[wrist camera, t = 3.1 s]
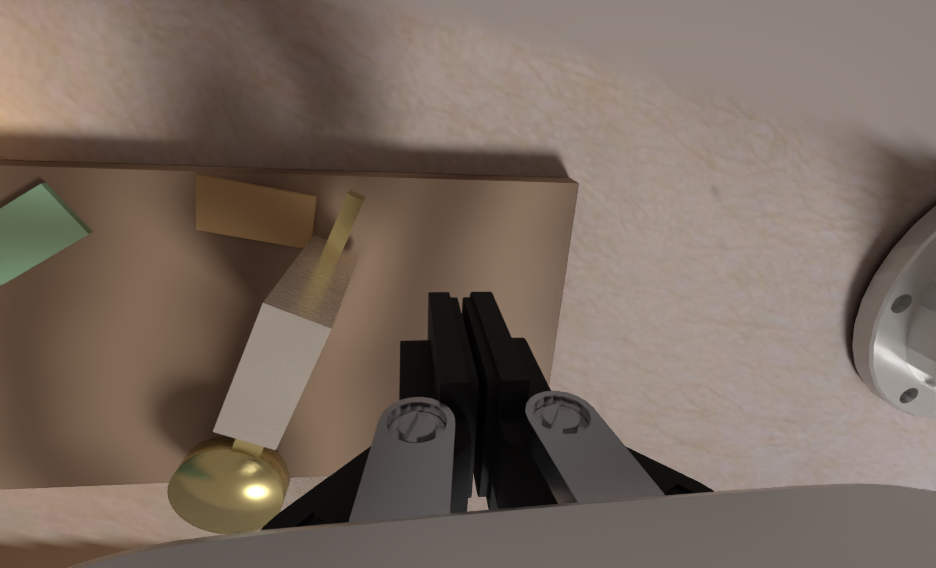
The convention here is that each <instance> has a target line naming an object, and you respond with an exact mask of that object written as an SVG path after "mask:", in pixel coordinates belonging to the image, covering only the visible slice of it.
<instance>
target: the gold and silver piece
mask: <svg viewBox="0 0 936 568" xmlns="http://www.w3.org/2000/svg"><path fill="white" fill-rule="evenodd" d="M365 198H366V197H365V196H363V195H361V194H359V193H357V192H355V191H353V190H350V191H349V192H348V193H347V195H346V198H345V200H344V203H343V205H342V207H341V210H340V212H339V214H338V217H337V219H336V222H335V224H334V226H333V229H332V231H331V233H330V236H329V238H328V240H325V239H322V238H320V237H318V236H315V235H313V236H312V238H311V239H310V240H309V242H308V243H307V244H306V246H305V247H304V248H303V250H302V251H301V252H300V254H299V255H298V256H297V258H296V259H295V261H294V262H293V263H292V265H291V266H290V267H289V269H288V270H287V271H286V273H285V274H284V275H283V277H282V278H281V279H280V281H279V282H278V283H277V285H276V286H275V287H274V289H273V290H272V291H271V293H270V294H269V295H268V297H267V298H266V299H265V301H264V302H263V304H262V306H261V309H260V311H259V314H258V316H257V319H256V322H255V324H254V327H253V329H252V332H251V334H250V337H249V340H248V342H247V345H246V347H245V350H244V353H243V355H242V358H241V360H240V363H239V365H238V368H237V371H236V373H235V376H234V378H233V381H232V383H231V386H230V389H229V391H228V394H227V396H226V399H225V401H224V404H223V407H222V409H221V412H220V414H219V417H218V420H217V422H216V425H215V427H214V430H213V432H215V433H218V434H222V435H225V436H220V437H215V438H211V439H208V440H205V441H203V442H201V443H199V444H197V445H196V446H194V447H193V448H192V449H191V450H190V451H189V452H188V453H187V455H186V456H185V457H184V459H183V460H182V462H181V464H180V465H179V467H178V468H177V470H176V471H175V473H174V474H173V476H172V477H171V480H170V482H169V485H168V498H169V501H170V504H171V506H172V507H173V509H174V510H175V512H176V513H177V514H178V515H179V516H180V517H181V518H183V519H184V520H185V521H186V522H188V523H190V524H191V525H193V526H195V527H197V528H200V529H203V530H206V531H209V532H213V533H219V534H234V533H238V532H241V533H242V532H250V531H255V530H258V529H260V528H262V527H264V526H265V525H266V524H267V523H268V522H269V521H270V520H271V519H272V518H273V517H274V516H276V515H277V514H278V513H279V512H280V510H281V507H282V504H283V501H284V498H285V495H286V492H287V489H288V486H289V482H290V472H289V469H288V466H287V464H286V462H285V460H284V459H283V458H282V457H281V455H280V454H279V453H278V452H276V451H275V450H276V449H277V447H278V445H279V442H280V440H281V438H282V436H283V434H284V432H285V429H286V427H287V425H288V423H289V421H290V419H291V416H292V414H293V412H294V410H295V408H296V405H297V403H298V401H299V399H300V397H301V395H302V392H303V390H304V388H305V386H306V384H307V382H308V379H309V377H310V375H311V373H312V371H313V368H314V366H315V364H316V362H317V360H318V358H319V355H320V353H321V351H322V349H323V347H324V345H325V342H326V340H327V338H328V336H329V334H330V331H331V329H332V327H333V324H334V321H335V319H336V316H337V313H338V311H339V308H340V306H341V303H342V300H343V298H344V295H345V292H346V290H347V287H348V284H349V282H350V279H351V276H352V274H353V271H354V268H355V266H356V263H357V260H358V258H359V254H357V253H355V252H352V251H350V250H348V249H345V248H344V246H345V244H346V242H347V239H348V237H349V235H350V232H351V230H352V228H353V226H354V223H355V221H356V219H357V216H358V214H359V212H360V210H361V207H362V205H363V203H364V200H365Z"/></svg>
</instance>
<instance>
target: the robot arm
mask: <svg viewBox="0 0 936 568" xmlns="http://www.w3.org/2000/svg"><path fill="white" fill-rule="evenodd" d="M852 348H853V355H854V362H855V367H856V369H857V371H858V373H859V375H860V377H861V380H862V381H863V383H864V384H865V385H866V386H867V387H868V388H869V389H870V390H871V391H872V392H873V393H874V394H875V395H877V396H878V397H879V398H881V399H882V400H884V401H885V402H887V403H888V404H890V405H891V406H893V407H894V408H896V409H898V410H900V411H903V412H905V413H908V414H910V415H912V416H918V417H925V418H931V419H936V205H935V206H934V207H933V208H932V209H931V210H930V211H929V212H928V213H926V214H925V215H924V216H923V217H922V218H921V219H920V220H919V221H917V222H916V223H915V224H914V225H913V226H912V227H911V228H910V229H909V231H908V232H907V233H906V234H905V235H904V236H903V237H902V238H901V240H900V241H899V242H898V243H897V244H896V245H895V246H894V247H893V249H892V250H891V251H890V253H889V254H888V255H887V257H886V258H885V260H884V261H883V263H882V264H881V266H880V267H879V269H878V270H877V272H876V273H875V274H874V276H873V278H872V280H871V282H870V284H869V286H868V288H867V290H866V292H865V294H864V296H863V298H862V301H861V304H860V307H859V311H858V314H857V317H856V320H855V324H854V334H853V344H852ZM473 473H474V479H475V484H476V490H477V495H478V497H485V496H486V498H487V503H488V508H489V510H482V511H470V512H466V511H467V504H468V498H471V496H472V483H473ZM68 568H936V491H931V490H926V489H919V488H911V487H903V486H895V485H881V484H857V483H856V484H831V485H806V486H786V487H774V488H760V489H745V490H731V491H718V492H714V491H713V490H712V489H710V488H708V487H707V486H705V485H703V484H701V483H700V482H698V481H696V480H694V479H692V478H689V477H687V476H685V475H683V474H681V473H679V472H677V471H675V470H673V469H671V468H669V467H667V466H665V465H663V464H661V463H658V462H656V461H654V460H652V459H650V458H648V457H646V456H644V455H642V454H640V453H638V452H636V451H634V450H632V449H630V448H628V447H625V446H624V444H623V443H622V442H621V441H620V439H619V438H618V437H617V436H616V435H615V433H614V432H613V431H612V430H611V429H610V427H609V426H608V425H607V424H606V422H605V421H604V420H603V419H602V418H601V416H600V415H599V414H598V413H597V411H596V410H595V409H594V408H593V407H592V406H591V405H590V404H589V403H588V402H587V401H585V400H583V399H581V398H580V397H578V396H576V395H573V394H570V393H567V392H560V391H551V390H550V388H549V386H548V384H547V381H546V379H545V377H544V375H543V373H542V371H541V369H540V367H539V365H538V363H537V361H536V359H535V357H534V355H533V353H532V351H531V349H530V347H529V345H528V343H527V341H526V339H525V338H523V337H521V338H512V337H511V335H510V332H509V330H508V328H507V325H506V323H505V321H504V319H503V316H502V314H501V312H500V309H499V307H498V305H497V302H496V300H495V298H494V296H493V293H492V292H471V293H470V297H463V301H462V313H461V309H460V306H459V302H458V298H457V297H450V293H449V292H429V293H428V340H410V341H400V382H399V401H397V402H395V403H393V404H391V405H390V406H389V407H388V408H386V409H385V410H384V411H383V413H382V415H381V417H380V418H379V421H378V425H377V428H376V431H375V435H374V438H373V441H372V445H371V446H370V447H369V448H367V449H366V450H365V451H363V452H362V453H361V454H359V455H358V456H356V457H355V458H354V459H352V460H351V461H350V462H348V463H347V464H345V465H344V466H343V467H341V468H340V469H339V470H337V471H336V472H335V473H333V474H332V475H330V476H329V477H328V478H326V479H325V480H324V481H322V482H321V483H320V484H318V485H317V486H315V487H314V488H313V489H311V490H310V491H309V492H307V493H306V494H305V495H303V496H302V497H300V498H299V499H298V500H296V501H295V502H294V503H292V504H291V505H289V506H288V507H287V508H285V509H284V510H283V511H281V512H280V513H279V514H277V515H276V516H274V517H273V518H272V519H271V520H270V521H269V522H268V523H267V524H266V525H265V526H264V527H262V529H261V530H259V531H250V532H242V533H241V532H238V533H234V534H226V535H218V536H210V537H202V538H194V539H186V540H178V541H171V542H166V543H161V544H156V545H151V546H146V547H140V548H135V549H130V550H126V551H123V552H119V553H115V554H111V555H108V556H104V557H101V558H97V559H93V560H90V561H86V562H83V563H79V564H76V565H73V566H71V567H68Z"/></svg>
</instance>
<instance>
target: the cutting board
mask: <svg viewBox="0 0 936 568" xmlns="http://www.w3.org/2000/svg"><path fill="white" fill-rule="evenodd" d="M578 186H579V183H577V182H576V181H574V180H572V179H571V178H551V177H520V176H489V175H458V174H427V173H396V172H365V171H334V170H303V169H272V168H241V167H210V166H179V165H148V164H117V163H86V162H55V161H24V160H0V490H1V489H26V488H50V487H74V486H98V485H123V484H147V483H169V482H170V480H171V477H172V476H173V474H174V473H175V471H176V470H177V468H178V467H179V465H180V464H181V462H182V460H183V459H184V457H185V456H186V455H187V453H188V452H189V451H190V450H191V449H192V448H193V447H194V446H196V445H197V444H199V443H201V442H203V441H205V440H208V439H211V438H215V437H220V436H225V435H222V434H218V433H215V432H213V430H214V427H215V425H216V422H217V420H218V417H219V414H220V412H221V409H222V407H223V404H224V401H225V399H226V396H227V394H228V391H229V389H230V386H231V383H232V381H233V378H234V376H235V373H236V371H237V368H238V365H239V363H240V360H241V358H242V355H243V353H244V350H245V347H246V345H247V342H248V340H249V337H250V334H251V332H252V329H253V327H254V324H255V322H256V319H257V316H258V314H259V311H260V309H261V306H262V304H263V302H264V301H265V299H266V298H267V297H268V295H269V294H270V293H271V291H272V290H273V289H274V287H275V286H276V285H277V283H278V282H279V281H280V279H281V278H282V277H283V275H284V274H285V273H286V271H287V270H288V269H289V267H290V266H291V265H292V263H293V262H294V261H295V259H296V258H297V256H298V255H299V254H300V252H301V251H302V250H303V248H304V247H305V246H306V244H307V243H308V242H309V240H310V239H311V238H312V236H313V235H315V236H318V237H320V238H322V239H325V240H328V238H329V236H330V233H331V231H332V229H333V226H334V224H335V222H336V219H337V217H338V214H339V212H340V210H341V207H342V205H343V203H344V200H345V198H346V195H347V193H348V192H349V191H350V190H353V191H355V192H357V193H359V194H361V195H363V196H365V197H366V198H365V200H364V203H363V205H362V207H361V210H360V212H359V214H358V216H357V219H356V221H355V223H354V226H353V228H352V230H351V232H350V235H349V237H348V239H347V242H346V244H345V246H344V248H345V249H348V250H350V251H352V252H355V253H357V254H359V258H358V260H357V263H356V266H355V268H354V271H353V274H352V276H351V279H350V282H349V284H348V287H347V290H346V292H345V295H344V298H343V300H342V303H341V306H340V308H339V311H338V313H337V316H336V319H335V321H334V324H333V327H332V329H331V331H330V334H329V336H328V338H327V340H326V342H325V345H324V347H323V349H322V351H321V353H320V355H319V358H318V360H317V362H316V364H315V366H314V368H313V371H312V373H311V375H310V377H309V379H308V382H307V384H306V386H305V388H304V390H303V392H302V395H301V397H300V399H299V401H298V403H297V405H296V408H295V410H294V412H293V414H292V416H291V419H290V421H289V423H288V425H287V427H286V429H285V432H284V434H283V436H282V438H281V440H280V442H279V445H278V447H277V449H276V450H275V451H276V452H278V453H279V454H280V455H281V457H282V458H283V459H284V460H285V462H286V464H287V466H288V469H289V472H290V478H293V477H317V476H330V475H332V474H333V473H335V472H336V471H337V470H339V469H340V468H341V467H343V466H344V465H345V464H347V463H348V462H350V461H351V460H352V459H354V458H355V457H356V456H358V455H359V454H361V453H362V452H363V451H365V450H366V449H367V448H369V447H370V446H371V445H372V441H373V438H374V435H375V431H376V428H377V425H378V421H379V418H380V417H381V415H382V413H383V411H384V410H385V409H386V408H388V407H389V406H390V405H391V404H393V403H395V402H397V401H399V382H400V341H410V340H428V293H429V292H449V293H450V297H457V298H458V302H459V306H460V309H461V313H462V301H463V297H470V293H471V292H492V293H493V296H494V298H495V300H496V302H497V305H498V307H499V309H500V312H501V314H502V316H503V319H504V321H505V323H506V325H507V328H508V330H509V332H510V335H511V337H512V338H521V337H523V338H525V339H526V341H527V343H528V345H529V347H530V349H531V351H532V353H533V355H534V357H535V359H536V361H537V363H538V365H539V367H540V369H541V371H542V373H543V375H544V377H545V379H546V381H547V384H548V386H549V383H550V376H551V369H552V362H553V356H554V349H555V342H556V335H557V328H558V322H559V315H560V308H561V301H562V295H563V288H564V281H565V274H566V267H567V261H568V254H569V247H570V240H571V234H572V227H573V220H574V213H575V206H576V200H577V193H578Z"/></svg>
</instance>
